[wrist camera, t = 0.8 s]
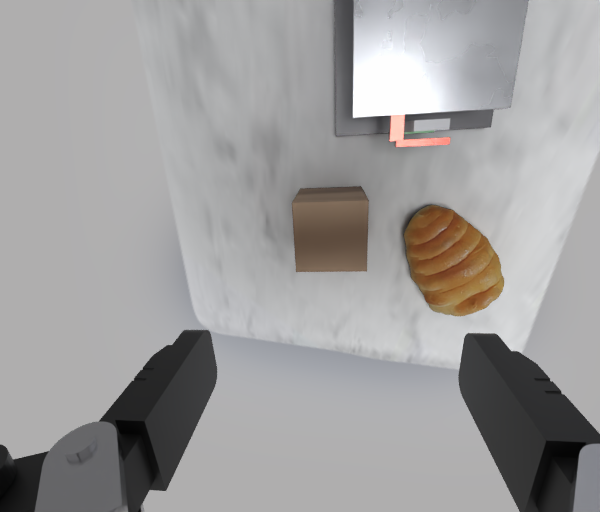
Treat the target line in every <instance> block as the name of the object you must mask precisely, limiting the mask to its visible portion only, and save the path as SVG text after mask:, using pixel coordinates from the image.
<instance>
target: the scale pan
mask: <svg viewBox="0 0 600 512" xmlns="http://www.w3.org/2000/svg"><path fill="white" fill-rule="evenodd" d="M528 1H529V0H353V102H352V118H362V117H378V116H390V129H389V141H395V147H406V146H426V145H446V144H450V137H446V138H427V139H408V140H403V135H404V119H405V115H411V114H427V113H444V112H460V111H476V110H493V109H506V108H511V102H512V96H513V90H514V84H515V78H516V72H517V66H518V60H519V54H520V48H521V42H522V36H523V30H524V24H525V18H526V12H527V7H528Z"/></svg>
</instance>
